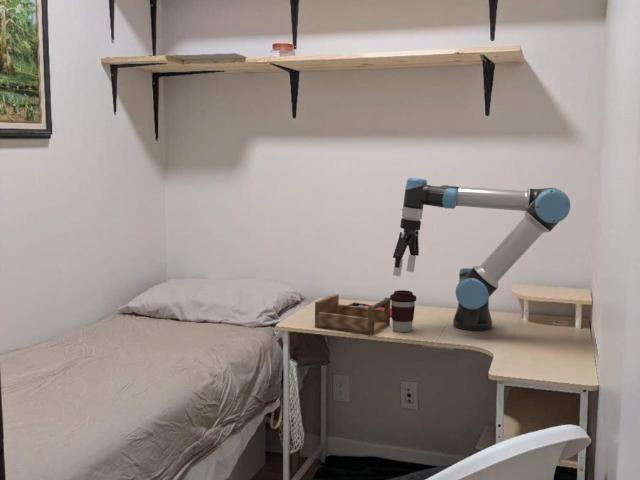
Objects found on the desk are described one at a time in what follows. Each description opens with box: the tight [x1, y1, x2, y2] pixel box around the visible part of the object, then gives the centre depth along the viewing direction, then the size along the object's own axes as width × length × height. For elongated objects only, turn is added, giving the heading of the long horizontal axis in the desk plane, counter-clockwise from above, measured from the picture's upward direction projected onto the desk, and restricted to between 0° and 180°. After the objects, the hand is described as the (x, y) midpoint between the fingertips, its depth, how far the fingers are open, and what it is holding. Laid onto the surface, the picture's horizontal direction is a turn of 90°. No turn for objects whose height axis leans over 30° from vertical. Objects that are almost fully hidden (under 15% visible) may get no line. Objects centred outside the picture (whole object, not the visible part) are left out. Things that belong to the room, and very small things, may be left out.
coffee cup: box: [389, 289, 417, 333], centre depth 266 cm, size 10×10×15 cm
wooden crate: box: [314, 293, 392, 336], centre depth 271 cm, size 24×18×11 cm
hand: (403, 273), depth 266 cm, fingers open, 13 cm apart
